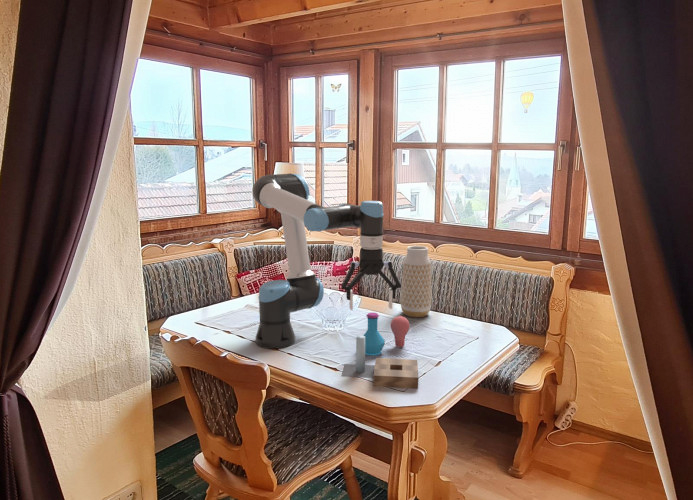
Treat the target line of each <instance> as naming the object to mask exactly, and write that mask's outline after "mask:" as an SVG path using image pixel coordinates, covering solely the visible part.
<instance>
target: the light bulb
mask: <svg viewBox="0 0 693 500" xmlns="http://www.w3.org/2000/svg"><path fill="white" fill-rule="evenodd" d="M410 327H411V325H410V322H409V320H408V319H407V318H406V317H405V316H402V315H398V316H395V317H394V318H393V319H392V320H391V322H390V329H391V331H392V334H393V336H394V343H395V344H394V345H395V347H398V348H402V347H405V339H406V335H407V334H408V332H409V331H410Z"/></svg>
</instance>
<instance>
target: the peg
mask: <svg viewBox="0 0 693 500" xmlns="http://www.w3.org/2000/svg"><path fill="white" fill-rule="evenodd" d="M355 341H356V342H355V343H356V344H355V352H356V353H355V358H356V359H355V364H356V372H359V373H362V372H365V365H366V354H365V336H363V335H357V336H356V339H355Z"/></svg>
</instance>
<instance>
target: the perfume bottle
mask: <svg viewBox="0 0 693 500" xmlns="http://www.w3.org/2000/svg"><path fill="white" fill-rule="evenodd" d="M365 316H366V317H367V330H366V331H365V332H364V334H363V335H362V336H365V355H367V356H378V355H380V354H382V351H383V348H384V346H385V342H386V340H385V339H384V337H383V336H382V335H381V333H380V332H379V330H378V319H379V317H380V315H379V314H378V313H377V312H367V314H366V315H365Z"/></svg>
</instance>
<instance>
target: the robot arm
mask: <svg viewBox="0 0 693 500" xmlns="http://www.w3.org/2000/svg"><path fill="white" fill-rule="evenodd" d="M251 191H252V192H251V193H252V196H253V199H254V200H255V202H256V203H257V204H258V205H261V206H262V207H265V208H266V209H275V210H276V211H277V212H278V213H280V217H281V218H280V219H281V224H282V230H283V231H282V232H283V236H284V245H285V251H286V259H287V265H288V272H289V273H288V275H287V276H286V279H276V280H275V279H274V280H270V281H267V282H265V283H262V284H261V286H260V287H259V290H258V304H259V305H258V308H259V309H258V311H259V325H258V329H257V331H256V334H255V344H256V345H257V346H259V347H260V348H264V349H282V348H288V347H289V346H292V345H293V344H294V343H295V342H296V334H295V331H294V329H293V327H292V323H291V313H295V312H299V311H303V310H306V309H307V310H308V309H310V310H311V309H312V308H315V307H317V306H319V305H320V304H321V302H322V301H323V298H324V294H325V293H324V291H325V289H324V285H323V282H322V280H321V279H320V278H319V277H316V273H315V272H314V271H313V270H312V269H311V262H310V254H309V248H308V240H307V235H306V234H307V233H306V229H307V230H308V231H310V232H323V231H329V230H336V229H344V228H358V229H360V232H359V233H360V234H359V235H360V239H359V242H360V243H359V244H360V245H359V246H360V249H359V253H360V254H359V262H356V261H354V260H352V261H350V267H349V269H348V271H347V273H346V275H345V278H344V279H343V281H342V283H341V285H340V288H341V289H342V290H344V291H346V300H347V301H349V310H350V311H353V309H354V308H353V307H354V301H353V300H354V298H353V297H354V295H353V293H354V291H353V288H354V287H355V286H356V284H357V283H358V282H359V281H360V280H361V279H362V278H363V277H364V276H365V275H366V276H371V275H372V276H376V275H378V274H379V275H380V277H381V278H382V279H383V280H384V281H385V282H386V283H387V285H388V286H389V287H390V288H388V307H389V309H390V310H392V309H393V299H396V293H397V292H396V290H398V289H400V288H402V284H401V283H400V280H399V278H398V277H397V275H396V273H395V271H394V270H395V269H394V268H393V263H392V261H391V260H389V259H388V260H387V261H383V254H384V253H383V252H384V251H383V246H384V244H383V241H384V239H383V237H384V204H383V202H382V201H379V200H364V201H361V202H360V205H355V204H352V203H342V204H338V205H335V206H326V207H325V206H322V205H320V204H317V203H315V202H313V201H310V200H308V199H309V198H310V197H309V196H310V186H309V184H308V181H307V180H306V178H305V177H303V175H301V174H298V173H282V174H281V173H278V174H265V175H262V176H260V177H259V178H258V179H256V181H255V182H254V184H253V186H252V189H251ZM305 227H306V228H305ZM384 266H385V268H386V269H388V271H389V273H390V276H391V277H392V279H393V282H394V283H393V282H392V281H391V280H390V279H389V277H388V276H387V275H386V274H385V272H383V271H382V269H383V267H384ZM358 267H359V268H360V269H359V271H358V273H357V274H356V275H355V276H354V277H353V278H352V276H353V274H354V272H355V270H356V269H357V268H358ZM351 278H352V280H351Z"/></svg>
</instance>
